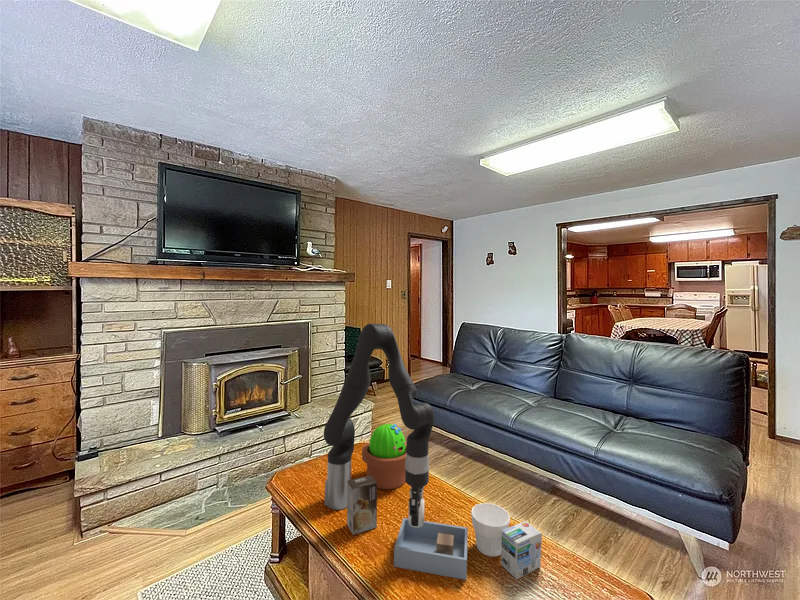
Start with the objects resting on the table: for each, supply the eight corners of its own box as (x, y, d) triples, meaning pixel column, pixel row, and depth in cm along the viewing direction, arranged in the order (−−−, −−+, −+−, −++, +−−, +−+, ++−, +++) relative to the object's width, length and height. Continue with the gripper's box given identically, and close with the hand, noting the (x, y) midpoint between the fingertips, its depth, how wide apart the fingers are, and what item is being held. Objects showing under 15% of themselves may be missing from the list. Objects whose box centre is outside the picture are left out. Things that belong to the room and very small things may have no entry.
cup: (503, 567, 106) (504, 531, 106) (464, 551, 113) (465, 517, 113) (513, 543, 117) (514, 510, 117) (477, 529, 124) (478, 498, 123)
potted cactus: (351, 479, 155) (352, 423, 155) (385, 462, 172) (386, 411, 171) (387, 499, 141) (389, 437, 140) (421, 478, 157) (422, 423, 157)
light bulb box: (516, 580, 102) (517, 543, 102) (499, 564, 108) (500, 529, 108) (541, 567, 107) (542, 532, 107) (524, 553, 113) (525, 520, 113)
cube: (436, 559, 108) (436, 543, 108) (437, 547, 113) (438, 532, 113) (452, 562, 107) (452, 546, 107) (453, 550, 112) (453, 535, 112)
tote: (393, 566, 106) (394, 547, 106) (403, 534, 120) (403, 517, 120) (466, 579, 102) (466, 560, 101) (467, 545, 116) (467, 527, 116)
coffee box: (370, 517, 129) (371, 474, 129) (377, 528, 123) (378, 482, 123) (346, 524, 125) (347, 479, 124) (352, 535, 119) (353, 488, 119)
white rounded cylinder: (407, 526, 110) (407, 504, 110) (409, 516, 115) (410, 495, 115) (422, 528, 109) (423, 506, 109) (425, 518, 114) (425, 497, 114)
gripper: (409, 455, 119) (408, 505, 120) (401, 476, 105) (400, 532, 106) (431, 458, 118) (430, 508, 118) (425, 479, 104) (424, 536, 104)
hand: (416, 519), depth 112 cm, fingers closed on white rounded cylinder, 5 cm apart
